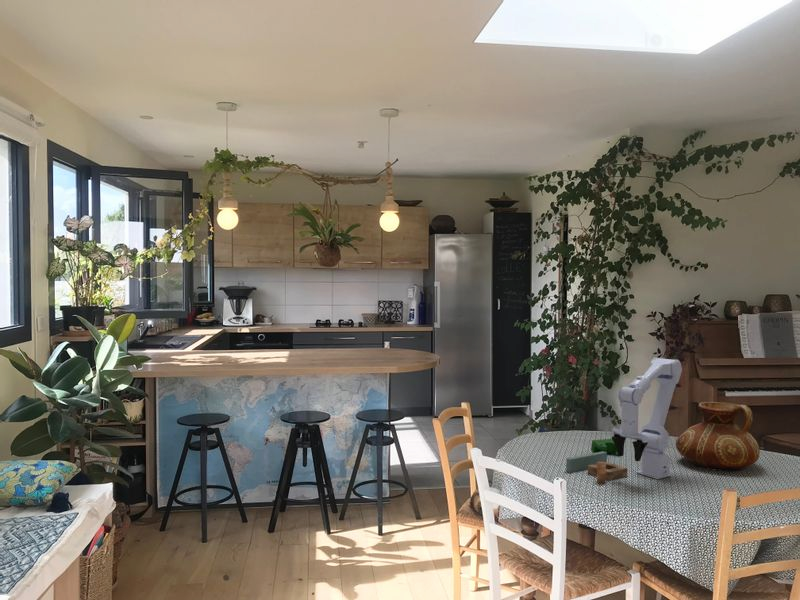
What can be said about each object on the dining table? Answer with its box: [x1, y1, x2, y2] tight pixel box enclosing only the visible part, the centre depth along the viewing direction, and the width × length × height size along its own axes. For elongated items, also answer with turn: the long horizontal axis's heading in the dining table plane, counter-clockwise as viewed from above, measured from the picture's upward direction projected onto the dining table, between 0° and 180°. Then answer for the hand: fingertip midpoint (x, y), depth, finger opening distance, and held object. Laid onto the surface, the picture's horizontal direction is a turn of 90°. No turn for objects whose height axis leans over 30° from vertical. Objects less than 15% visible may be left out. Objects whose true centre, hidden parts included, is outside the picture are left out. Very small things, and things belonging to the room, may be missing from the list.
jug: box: [675, 401, 761, 472], centre depth 259 cm, size 30×30×25 cm
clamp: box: [590, 438, 618, 456], centre depth 273 cm, size 12×6×9 cm, turn 99°
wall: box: [565, 451, 608, 474], centre depth 253 cm, size 2×20×5 cm, turn 122°
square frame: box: [587, 461, 628, 481], centre depth 244 cm, size 10×10×3 cm
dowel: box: [596, 462, 607, 484], centre depth 235 cm, size 3×3×7 cm
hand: (629, 458), depth 236 cm, fingers open, 7 cm apart
